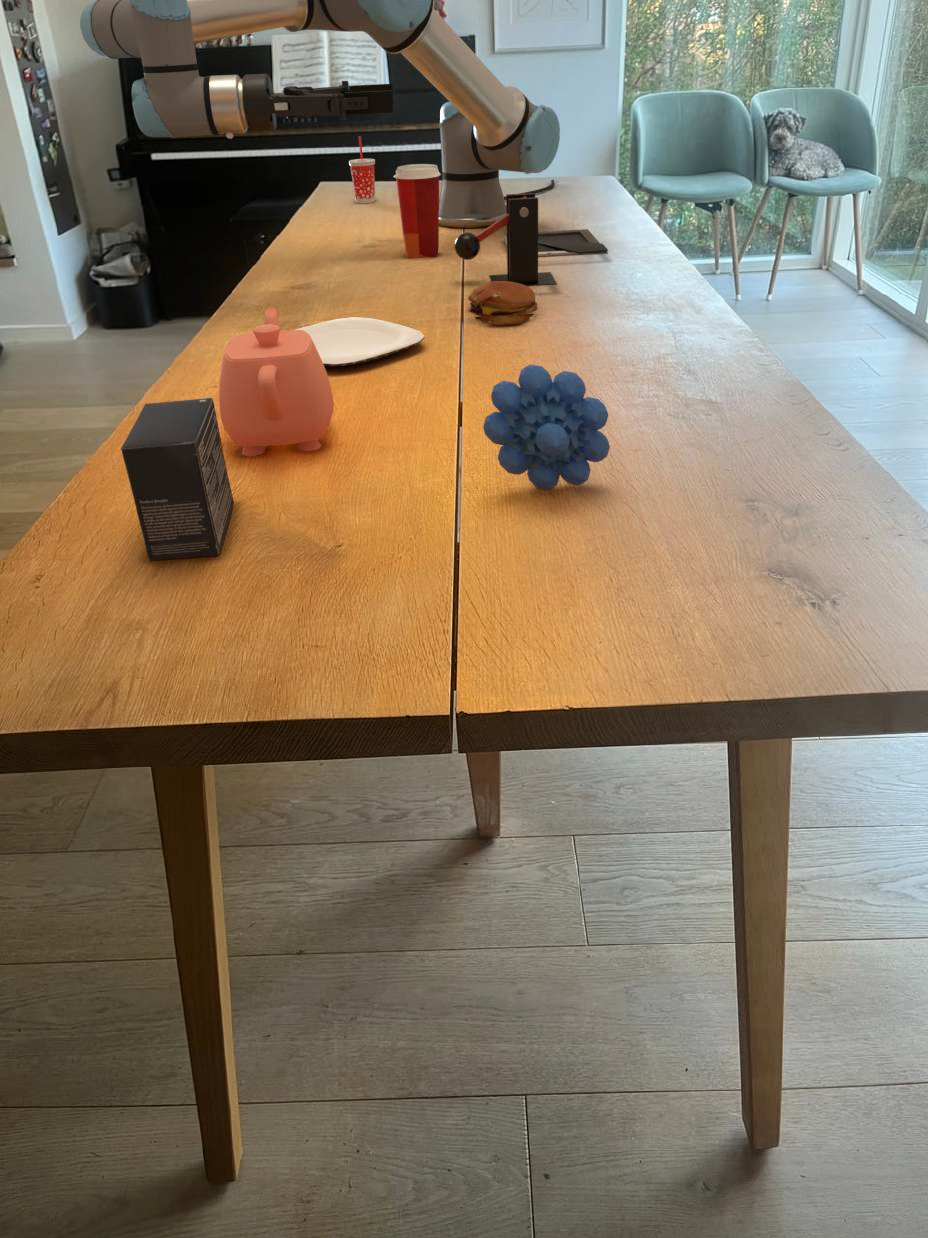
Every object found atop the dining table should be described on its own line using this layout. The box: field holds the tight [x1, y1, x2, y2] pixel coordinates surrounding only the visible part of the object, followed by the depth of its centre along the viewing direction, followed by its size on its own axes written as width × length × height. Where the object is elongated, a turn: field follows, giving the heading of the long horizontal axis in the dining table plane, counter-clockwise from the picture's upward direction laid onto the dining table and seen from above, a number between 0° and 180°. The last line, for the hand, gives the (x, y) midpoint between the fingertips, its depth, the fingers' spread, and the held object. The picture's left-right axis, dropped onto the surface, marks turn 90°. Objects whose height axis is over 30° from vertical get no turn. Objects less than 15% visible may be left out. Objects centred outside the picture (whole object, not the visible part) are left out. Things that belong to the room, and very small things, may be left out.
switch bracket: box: [488, 193, 558, 287], centre depth 154 cm, size 10×8×14 cm
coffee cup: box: [393, 163, 442, 260], centre depth 177 cm, size 8×8×15 cm
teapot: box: [218, 307, 335, 457], centre depth 104 cm, size 20×12×12 cm, turn 8°
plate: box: [295, 316, 426, 367], centre depth 132 cm, size 18×18×2 cm
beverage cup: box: [348, 135, 376, 204], centre depth 231 cm, size 6×6×14 cm
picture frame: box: [504, 228, 609, 258], centre depth 180 cm, size 16×2×21 cm
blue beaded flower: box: [482, 363, 611, 491], centre depth 89 cm, size 12×7×12 cm, turn 95°
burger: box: [467, 281, 538, 327], centre depth 142 cm, size 10×9×5 cm
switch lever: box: [453, 196, 526, 261], centre depth 153 cm, size 13×4×4 cm, turn 93°
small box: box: [120, 397, 235, 561], centre depth 85 cm, size 11×6×10 cm, turn 5°
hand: (393, 97), depth 142 cm, fingers open, 13 cm apart
